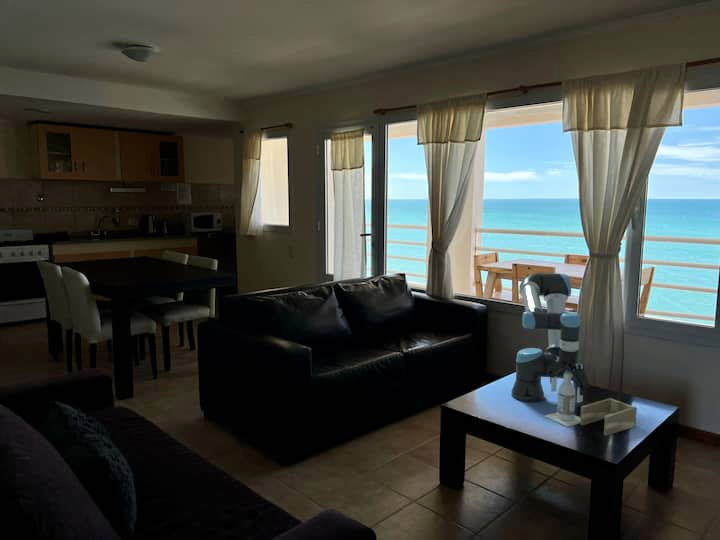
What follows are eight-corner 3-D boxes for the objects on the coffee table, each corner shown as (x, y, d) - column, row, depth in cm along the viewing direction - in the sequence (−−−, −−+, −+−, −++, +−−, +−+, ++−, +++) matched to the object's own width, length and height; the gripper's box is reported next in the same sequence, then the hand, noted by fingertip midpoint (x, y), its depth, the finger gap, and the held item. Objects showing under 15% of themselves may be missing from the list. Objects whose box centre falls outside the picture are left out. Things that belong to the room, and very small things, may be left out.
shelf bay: (580, 424, 218) (581, 406, 217) (609, 415, 228) (610, 398, 226) (606, 435, 208) (607, 417, 207) (635, 425, 217) (636, 407, 216)
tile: (544, 416, 226) (544, 415, 226) (563, 411, 232) (563, 410, 232) (567, 427, 216) (567, 425, 216) (586, 421, 221) (586, 419, 221)
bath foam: (567, 422, 219) (569, 377, 216) (553, 416, 225) (555, 372, 222) (577, 418, 223) (579, 374, 220) (563, 413, 228) (565, 369, 226)
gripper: (539, 343, 229) (537, 388, 232) (588, 358, 207) (585, 408, 210) (551, 341, 232) (549, 385, 235) (600, 355, 211) (597, 404, 214)
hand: (566, 396), depth 223 cm, fingers open, 13 cm apart
